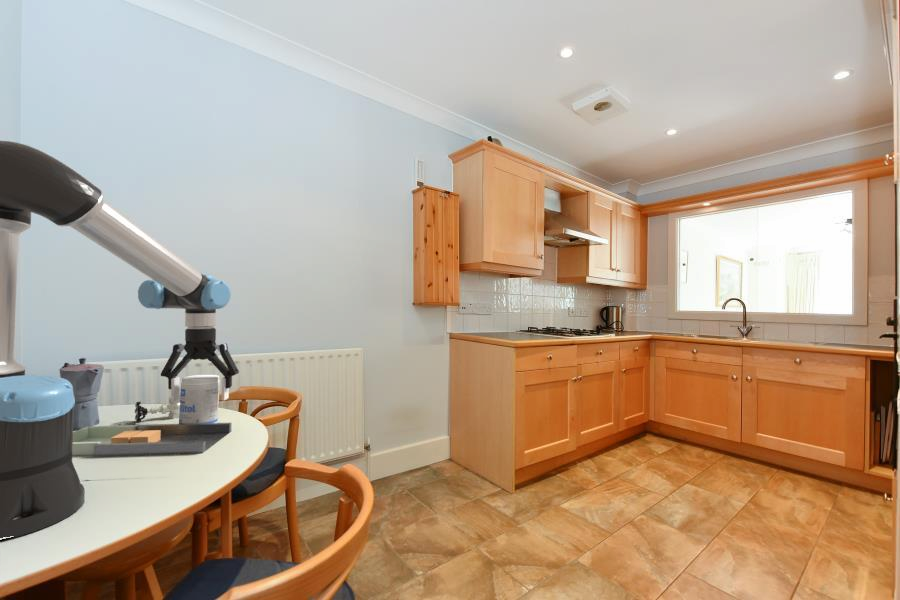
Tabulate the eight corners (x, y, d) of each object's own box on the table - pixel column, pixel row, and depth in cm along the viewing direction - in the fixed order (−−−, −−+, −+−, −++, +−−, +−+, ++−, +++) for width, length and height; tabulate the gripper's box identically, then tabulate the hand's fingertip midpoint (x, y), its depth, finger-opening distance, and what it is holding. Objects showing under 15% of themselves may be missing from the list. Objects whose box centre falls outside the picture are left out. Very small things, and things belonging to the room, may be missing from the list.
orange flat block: (147, 446, 96) (148, 436, 96) (130, 447, 95) (130, 437, 95) (160, 439, 100) (160, 430, 100) (143, 440, 100) (144, 430, 100)
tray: (97, 455, 90) (97, 443, 90) (40, 457, 89) (41, 444, 89) (136, 436, 104) (136, 425, 104) (87, 437, 102) (87, 426, 102)
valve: (181, 413, 125) (134, 421, 116) (182, 393, 125) (134, 400, 116) (186, 418, 120) (137, 426, 112) (186, 397, 120) (137, 404, 112)
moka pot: (79, 434, 104) (80, 361, 105) (36, 429, 108) (38, 359, 108) (116, 423, 114) (117, 356, 114) (75, 419, 117) (77, 354, 117)
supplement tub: (170, 431, 107) (172, 379, 107) (195, 422, 116) (197, 373, 117) (202, 432, 106) (204, 379, 106) (225, 423, 115) (227, 374, 116)
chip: (128, 447, 95) (128, 437, 95) (110, 447, 94) (110, 437, 94) (141, 440, 100) (142, 430, 100) (125, 440, 99) (125, 431, 99)
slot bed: (202, 454, 92) (202, 443, 92) (92, 458, 89) (92, 446, 89) (231, 432, 108) (232, 422, 108) (139, 434, 105) (139, 424, 105)
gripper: (250, 326, 116) (250, 395, 117) (162, 326, 113) (162, 397, 114) (240, 328, 109) (240, 402, 109) (145, 328, 106) (145, 404, 106)
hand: (200, 399), depth 111 cm, fingers open, 13 cm apart
